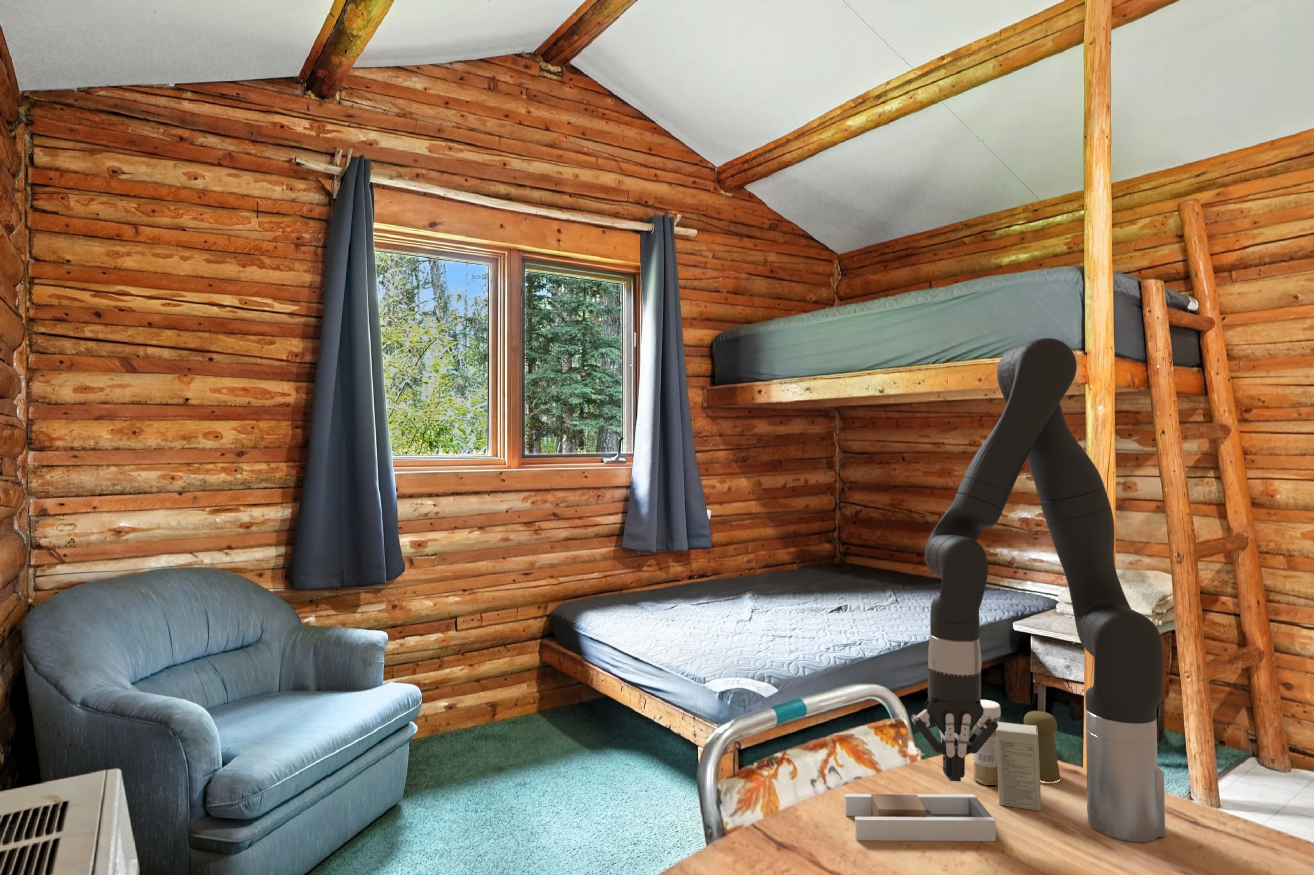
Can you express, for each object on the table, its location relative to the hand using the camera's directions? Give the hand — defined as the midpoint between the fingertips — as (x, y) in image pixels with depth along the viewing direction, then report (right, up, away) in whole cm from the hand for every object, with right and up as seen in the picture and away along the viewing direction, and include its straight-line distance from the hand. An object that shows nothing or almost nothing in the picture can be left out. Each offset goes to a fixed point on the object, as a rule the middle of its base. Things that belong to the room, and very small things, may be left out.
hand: (953, 779), depth 119 cm
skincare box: (+13, -7, +7) cm, 17 cm away
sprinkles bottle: (+12, -7, +15) cm, 21 cm away
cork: (+22, -7, +17) cm, 28 cm away
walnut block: (-8, -7, 0) cm, 11 cm away
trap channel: (-6, -7, 0) cm, 9 cm away
